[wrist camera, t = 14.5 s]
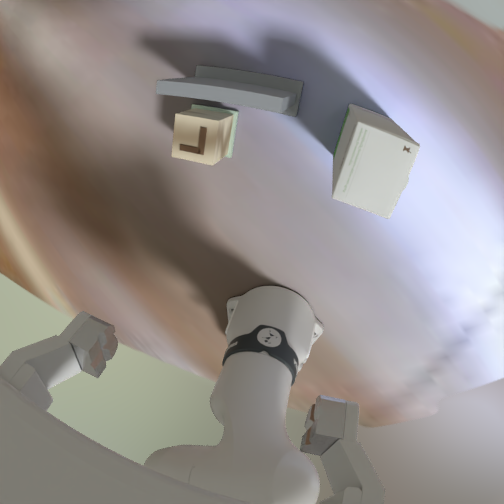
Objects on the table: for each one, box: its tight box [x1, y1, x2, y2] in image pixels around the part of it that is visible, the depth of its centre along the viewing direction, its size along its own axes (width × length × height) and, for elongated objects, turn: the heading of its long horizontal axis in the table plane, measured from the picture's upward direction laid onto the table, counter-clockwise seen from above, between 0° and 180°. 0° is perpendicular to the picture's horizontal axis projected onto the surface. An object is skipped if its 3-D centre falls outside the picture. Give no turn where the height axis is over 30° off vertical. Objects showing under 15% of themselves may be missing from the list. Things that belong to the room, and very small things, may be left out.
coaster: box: [191, 104, 239, 158], centre depth 43 cm, size 7×7×1 cm
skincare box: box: [332, 103, 420, 219], centre depth 33 cm, size 8×7×16 cm
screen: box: [156, 65, 304, 117], centre depth 34 cm, size 5×15×12 cm, turn 80°
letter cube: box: [172, 108, 234, 166], centre depth 41 cm, size 6×6×6 cm
